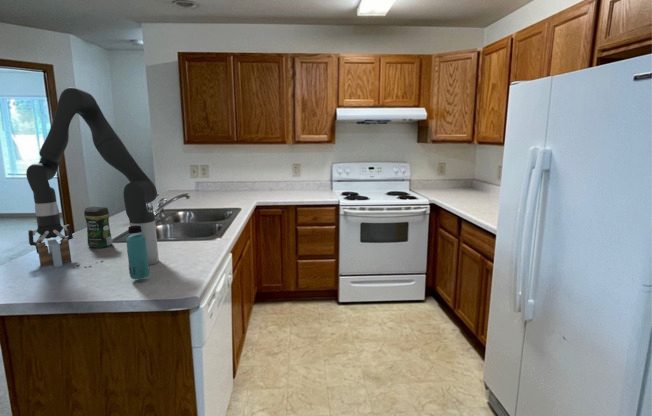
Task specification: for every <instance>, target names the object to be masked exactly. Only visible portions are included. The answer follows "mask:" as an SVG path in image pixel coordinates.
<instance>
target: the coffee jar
mask: <svg viewBox="0 0 652 416" xmlns="http://www.w3.org/2000/svg"><path fill="white" fill-rule="evenodd" d="M83 212H84V214H83V215H84V219H85V223H86V232H87V234H86V235H87V239H86V240H87V246H88V247H89V248H96V249H97V248H98V249H103V248H107V247H109V246H111V245H112V244H113V237H112V234H111V229H110V222H109V221H110V211H109V209H108V207H107V206H105V207H104V206H103V207H102V206H89V207H85V209H84V211H83Z"/></svg>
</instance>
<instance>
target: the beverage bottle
mask: <svg viewBox="0 0 652 416" xmlns="http://www.w3.org/2000/svg"><path fill="white" fill-rule="evenodd" d="M127 232H128V234H129V235H128V237H126V239H125V242H126V251H127V252H126V253H127V259H128V271H129V277H130V278H131V279H132V280H140V279H141V280H142V279H146V278H148V277H149V276H150V267H149V266H150V265H148V264H149V263H148V256H147V248H146V237H145V236H143V235H142V234H134V235H131V233H139V232H142V230H141V226H139V225H134V226H130V225H129V227H128V231H127Z"/></svg>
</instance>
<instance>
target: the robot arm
mask: <svg viewBox="0 0 652 416" xmlns="http://www.w3.org/2000/svg"><path fill="white" fill-rule="evenodd" d="M76 114H77V115H79V116H80V117H81V118H82V119H83V121H84V122H85V123H86V124H87V127H89V130H90V132H91V136H92V137H91V138H92V142H93V146H94V147H95V149H96V150H97V152H98V154H100V156H101V158H102V159H103V160H104V161H105V162H106V163H107V164H108V165H110V166H111V167H113V168H114V169H115V170H117V171H118V172H120V173H121V174H122V175H124V176H125V178H126V179H127V180H128V181H129V182H128V183H127V184H126V185H125V186H124V187H123V202H124V208H125V214H126V216H127V217H128V221H129V227H130V226H134V225H139V226H141V230H142V232H139V233H130V235H134V234H142V235H143V236H145V237H146V248H147V256H148V263H149V264H148V266H151V265H155V264H156V265H157V264H158V263H159V259H160V258H159V249H158V239H157V236H158V235H157V228H156V215H155V213H154V212H152V211H149V210H148V208H147V204H149V203H151V202H154V201H155V200H156V198H157V196H158V190H157V187H156V185H155V183H153V181H152V180H151V178H149V176H147V174H146V173H145V172H144V171H143V169H142V168H141V167H140V166H139V165H138V163H137V162H136V160H135V159H134V158H133V156H132V154H131V153H130V152H129V151H128V148H127V147H126V145H125V144H124V142H123V141H122V140H121V138H120V136H119V135H118V134H117V133H116V131H115V130H114V128H113V127H112V126H111V124H110V123H109V121H108V120H107V118H106V117H105V115H104V113H103V112H102V110H101V108H100V106H99V104H98V102H97V100H96V99H95V97H94V96H93V95H92V94H91V93H89V92H87V91H85V90H82V89H80V88H77V87H73V86H72V87H67V88H65V89H64V90H63V91H62V92H61V93H60V95H59V98H58V102H57V106H56V109H55V113H54V116H53V119H52V123H51V126H50V128H49V130H48V133H47V136H46V138H45V140H44V142H43V144H42V146H41V148H40V149H39V156H40V159H39V162H38V163H33V164H31V165H29V166H28V167H27V168H26V172H25V173H26V180H27V182H28V184H29V187H30V189H31V192H32V194H33V201H34V213H35V218H36V224H37V229H28V230H27V232H28V233H27V235H28V244H29V245H30V247H31V246H35V249H36V254H37V255H39V253H38V247H37V243H42V242H44V240H45V239H51V238H55V239H56V238H57V237H59V238H60V239H68V240H69V241H70V240H73V239H74V237H73V236H74V235H73V232H72V228H71V227H72V226H71V225H70V224H66V225H62V224H61V218H60V217H61V216H60V209H59V205H58V202H57V194H56V190H55V188H54V187H51V185H50V183H49V181H50V180H52V179H53V178H54V177H55V176H56V174H57V172H58V169H59V166H60V161H61V158H62V156H63V154H64V152H65V151H66V149H67V146H68V143H69V139H70V138H69V136H70V135H69V134H70V132H69V130H70V124H71V122H72V120H73V118H74V117H75V115H76ZM63 229H64V231H67V236H65V235H64V234H62V233H61V232H62V230H63ZM36 233H38V234H39V237H38V238H37V240H36V241H34V236H36Z"/></svg>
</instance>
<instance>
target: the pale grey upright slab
mask: <svg viewBox="0 0 652 416" xmlns="http://www.w3.org/2000/svg"><path fill="white" fill-rule="evenodd" d="M47 246H48V251H49V252H51V253H52V258H53V263H54V264H53V266H54V268H59V267H63V263H62V259H61V252H60V245H59V242H58V241H57V239H56V238H49V239H47Z"/></svg>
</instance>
